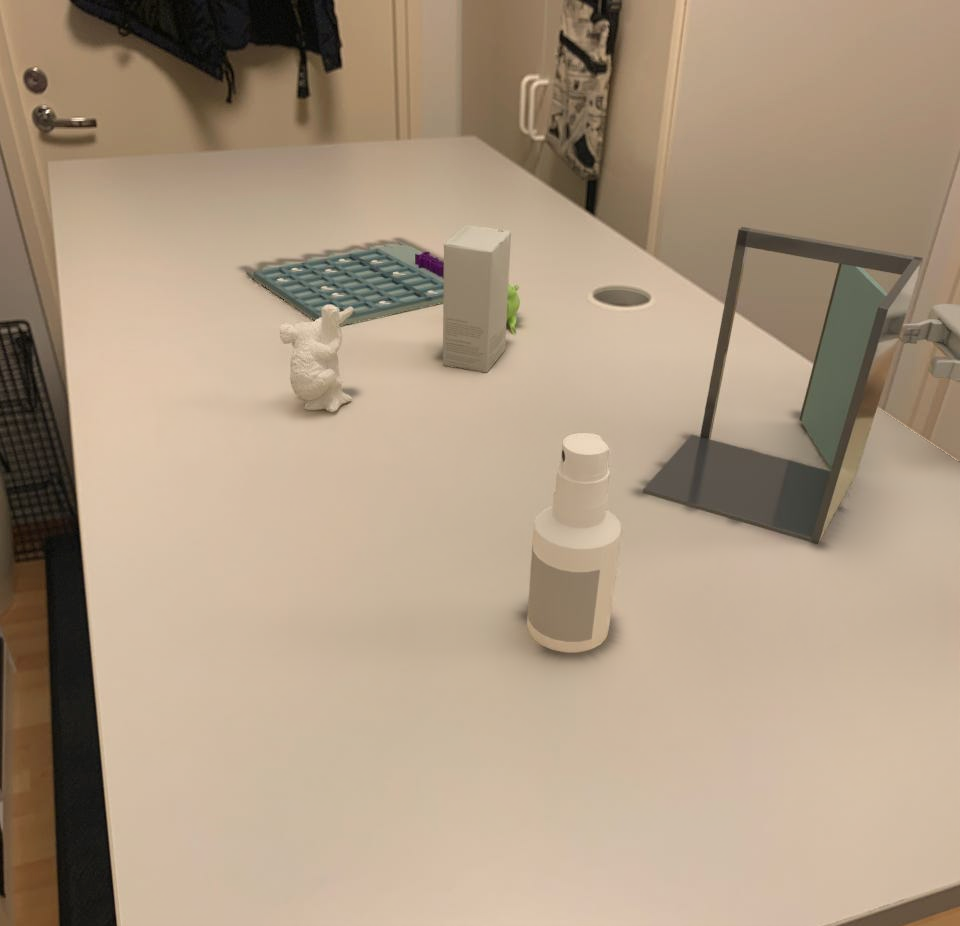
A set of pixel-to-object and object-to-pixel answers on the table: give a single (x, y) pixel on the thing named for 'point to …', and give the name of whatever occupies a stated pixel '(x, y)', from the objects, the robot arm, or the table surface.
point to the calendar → (359, 282)
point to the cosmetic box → (475, 297)
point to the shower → (768, 479)
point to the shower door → (840, 356)
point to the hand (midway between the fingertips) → (915, 349)
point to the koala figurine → (317, 359)
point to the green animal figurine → (512, 306)
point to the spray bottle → (575, 552)
